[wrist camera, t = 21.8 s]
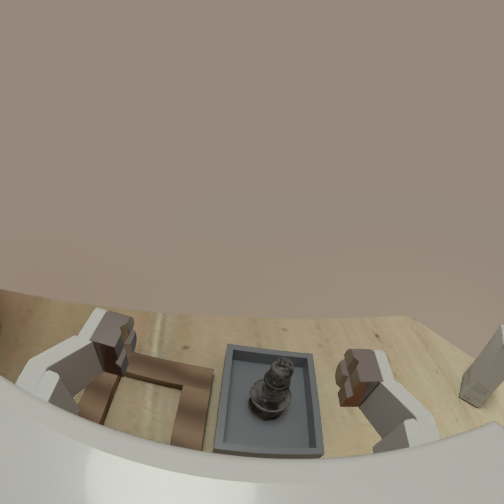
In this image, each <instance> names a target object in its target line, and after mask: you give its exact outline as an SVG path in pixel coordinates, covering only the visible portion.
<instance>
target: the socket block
mask: <svg viewBox="0 0 504 504" xmlns="http://www.w3.org/2000/svg"><path fill="white" fill-rule="evenodd" d="M128 362H129V365H128V367H127V370H126V372H125V375H124V376H127V377H130V378H134V379H138V380H142V381H145V382H149V383H153V384H158V385H162V386H166V387H171V388H175V389H180V390H182V393H181V397H180V401H179V406H178V410H177V415H176V419H175V424H174V428H173V433H172V438H171V442H170V445H173V446H178V447H183V448H188V449H193V450H199V451H201V449H202V442H203V436H204V429H205V422H206V416H207V409H208V403H209V397H210V390H211V384H212V378H213V371H214V369H210V368H204V367H199V366H193V365H188V364H183V363H178V362H173V361H169V360H164V359H160V358H155V357H151V356H147V355H143V354H139V353H135V352H134V353H133V355H132V356H130V357H128ZM120 378H121V376H118V375H114V374H111V373H107V372H104V373H103V374H102V375H100V376H99V377H98V378H97V379H95V380H94V381H93V382H91V383H90V384H89V385H88V386H86V388H85V391H84V393H83V395H82V397H81V400H80V402H79V404H78V406H79V409H80V411H79V414H78V416H80V417H82V418H85V419H87V420H90V421H93V422H95V423H98V424H101V425H103V423H104V420H105V418H106V415H107V412H108V409H109V407H110V404H111V401H112V399H113V396H114V393H115V391H116V388H117V386H118V383H119V381H120Z"/></svg>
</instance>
